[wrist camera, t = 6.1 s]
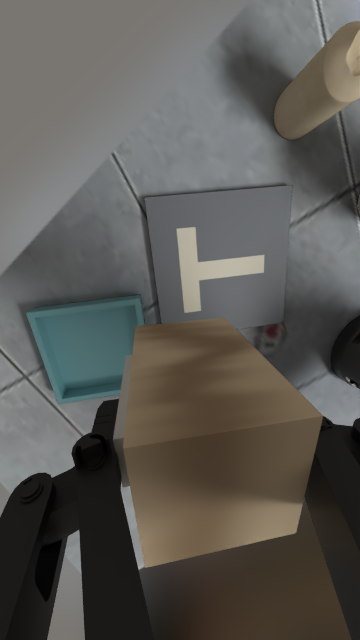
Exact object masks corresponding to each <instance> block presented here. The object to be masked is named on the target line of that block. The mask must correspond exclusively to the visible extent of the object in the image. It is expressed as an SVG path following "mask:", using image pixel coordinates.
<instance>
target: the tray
mask: <svg viewBox="0 0 360 640" xmlns="http://www.w3.org/2000/svg"><path fill="white" fill-rule="evenodd" d="M26 315H27V318H28V320H29V323H30V326H31V329H32V332H33V335H34V337H35V340H36V343H37V346H38V349H39V351H40V354H41V357H42V360H43V363H44V366H45V368H46V371H47V374H48V377H49V380H50V382H51V385H52V388H53V391H54V394H55V397H56V399H57V402H58V404H62V403H68V402H74V401H80V400H87V399H93V398H99V397H105V396H111V395H117V394H120V391H121V384H122V378H123V371H124V365H125V358H126V355H133V345H134V335H135V326H144V325H145V320H144V314H143V307H142V301H141V295H133V296H125V297H117V298H109V299H101V300H93V301H84V302H76V303H68V304H60V305H52V306H44V307H36V308H33V309H32V310H30V311H28V312H27V313H26Z"/></svg>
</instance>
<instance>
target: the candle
mask: <svg viewBox="0 0 360 640" xmlns="http://www.w3.org/2000/svg"><path fill="white" fill-rule="evenodd" d="M359 97H360V22H359V21H355V22H350V23H348V24H346V25H344V26H343V27H341V28H340V29H339V30H338V31H337V32H336V33H335V34H334V35H333V37H332V38H331V39H330V40H329V41H328V42H327V43H326V44H325V45H324V47H323V48H322V49H321V50H320V51H319V52H318V53H317V54H316V55H315V57H314V58H313V59H312V60H311V61H310V62H309V63H308V64H307V65H306V67H305V68H304V69H303V70H302V71H301V72H300V73H299V74H298V75H297V77H296V78H295V79H294V80H293V81H292V82H291V83H290V84H289V85H288V87H287V88H286V89H285V90H284V91H283V93H282V94H281V95H280V97H279V99H278V101H277V103H276V106H275V110H274V123H275V127H276V129H277V131H278V133H279V134H280V135H281V136H282V137H284V138H285V139H289V140H294V139H298V138H300V137H302V136H304V135H305V134H307V133H308V132H310V131H311V130H313V129H314V128H316V127H317V126H318V125H320V124H321V123H323V122H324V121H326V120H327V119H329V118H330V117H332V116H333V115H335V114H336V113H338V112H339V111H340V110H342V109H343V108H345V107H346V106H348V105H349V104H351V103H352V102H354V101H355V100H357V99H358V98H359Z"/></svg>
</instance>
